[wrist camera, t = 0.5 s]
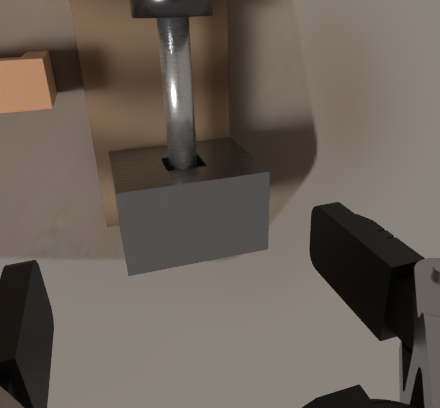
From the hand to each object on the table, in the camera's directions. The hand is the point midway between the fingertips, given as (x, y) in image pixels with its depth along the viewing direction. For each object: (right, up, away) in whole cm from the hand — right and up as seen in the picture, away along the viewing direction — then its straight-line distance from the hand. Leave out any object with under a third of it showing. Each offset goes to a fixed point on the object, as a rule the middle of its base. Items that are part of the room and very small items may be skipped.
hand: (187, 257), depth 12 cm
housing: (-3, +4, +23) cm, 23 cm away
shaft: (-3, +11, +17) cm, 21 cm away
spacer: (-14, +11, +18) cm, 25 cm away
